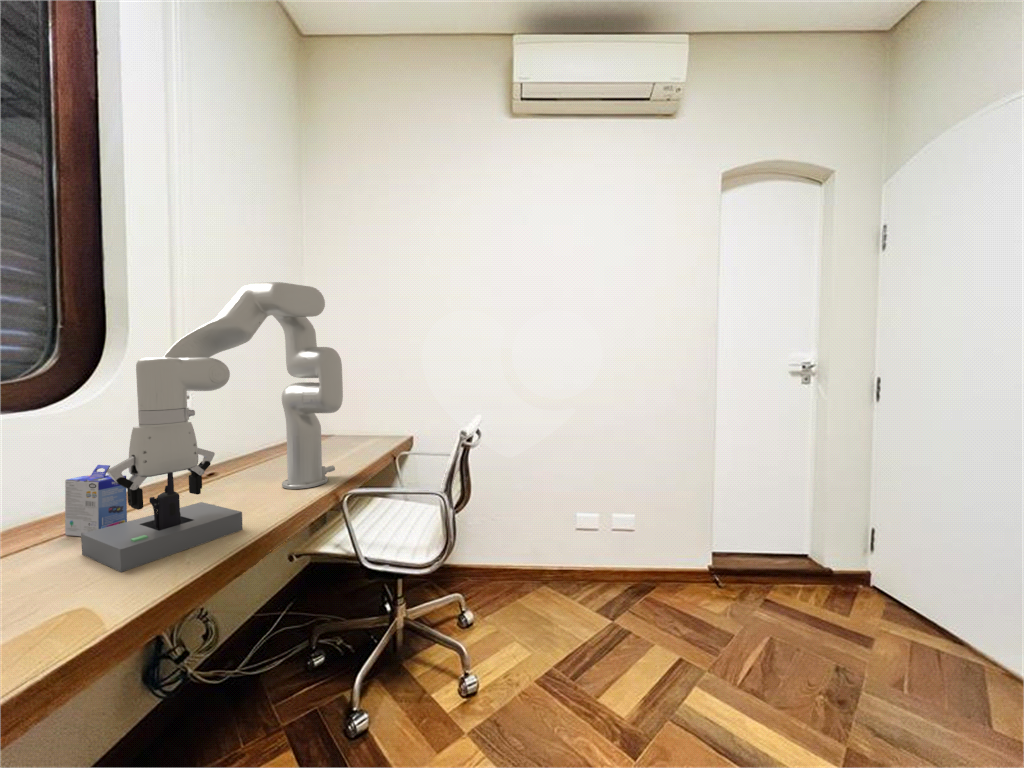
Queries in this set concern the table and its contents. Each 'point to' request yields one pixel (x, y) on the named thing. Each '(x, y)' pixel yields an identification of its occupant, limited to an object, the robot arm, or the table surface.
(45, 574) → the table surface
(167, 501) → the two-way radio
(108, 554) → the charging cradle
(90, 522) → the ink cartridge box
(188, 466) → the robot arm
